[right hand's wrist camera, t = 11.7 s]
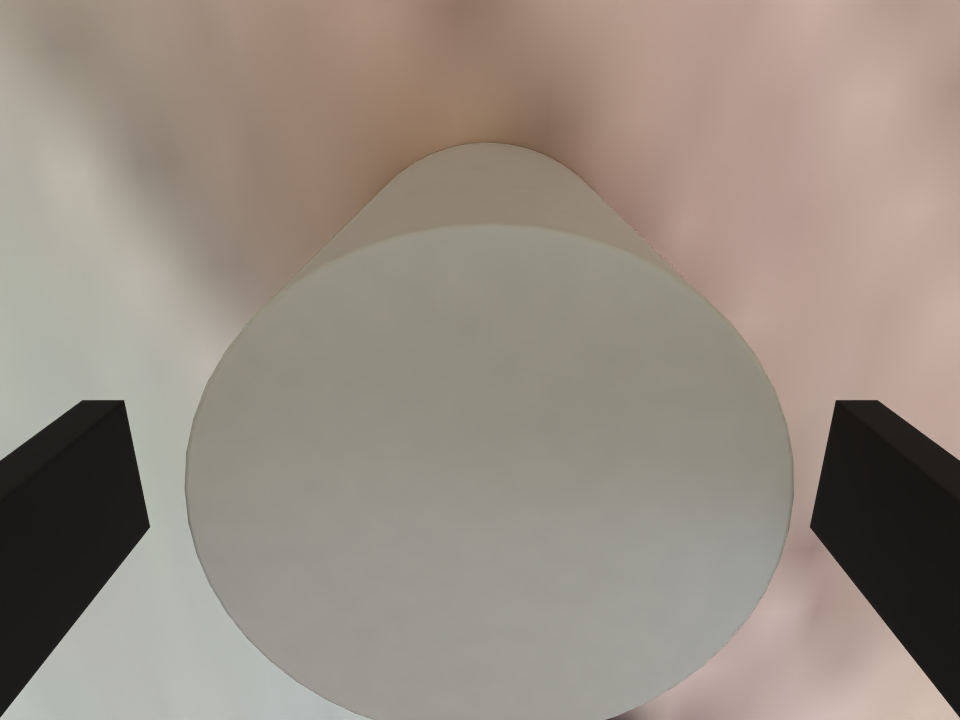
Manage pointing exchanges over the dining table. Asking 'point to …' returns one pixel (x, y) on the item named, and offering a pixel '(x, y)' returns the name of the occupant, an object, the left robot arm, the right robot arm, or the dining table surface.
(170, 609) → the dining table surface
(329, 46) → the dining table surface
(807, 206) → the dining table surface
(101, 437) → the right robot arm
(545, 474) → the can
